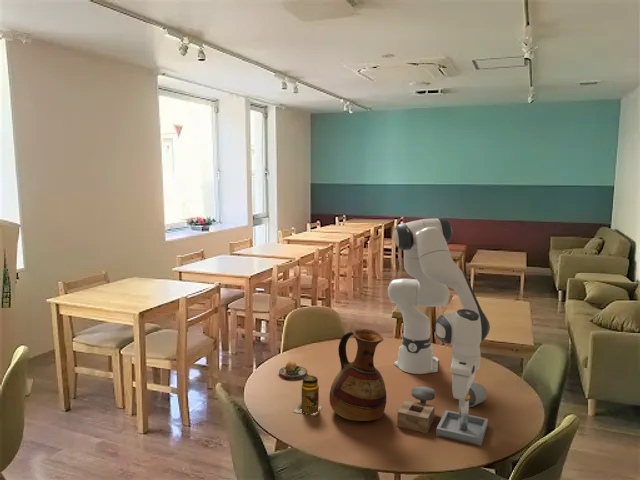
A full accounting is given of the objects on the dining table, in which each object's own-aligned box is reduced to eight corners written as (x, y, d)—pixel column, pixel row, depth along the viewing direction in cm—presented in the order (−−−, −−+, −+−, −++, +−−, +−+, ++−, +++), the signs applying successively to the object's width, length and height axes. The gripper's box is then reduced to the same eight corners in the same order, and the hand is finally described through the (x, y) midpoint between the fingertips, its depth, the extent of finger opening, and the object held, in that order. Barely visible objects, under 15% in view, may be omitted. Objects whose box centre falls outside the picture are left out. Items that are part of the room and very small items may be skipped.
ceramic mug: (488, 403, 183) (488, 384, 182) (475, 410, 178) (476, 390, 177) (464, 394, 190) (464, 376, 190) (451, 400, 185) (452, 381, 185)
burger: (312, 376, 206) (312, 359, 206) (288, 383, 200) (288, 365, 199) (297, 367, 216) (297, 350, 215) (273, 373, 210) (273, 356, 209)
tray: (445, 416, 173) (445, 410, 172) (487, 425, 167) (488, 418, 166) (436, 435, 160) (436, 428, 160) (481, 446, 154) (481, 438, 154)
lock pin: (458, 424, 166) (459, 391, 164) (469, 427, 164) (471, 394, 163) (456, 429, 163) (457, 396, 161) (467, 432, 161) (469, 398, 159)
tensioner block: (412, 404, 182) (412, 384, 181) (439, 409, 177) (440, 389, 176) (397, 426, 166) (397, 404, 165) (426, 433, 161) (427, 411, 160)
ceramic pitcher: (371, 434, 161) (373, 344, 157) (318, 417, 171) (318, 333, 167) (395, 410, 177) (397, 328, 173) (345, 396, 188) (347, 319, 184)
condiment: (315, 416, 172) (316, 383, 171) (293, 412, 175) (293, 379, 173) (322, 406, 179) (322, 375, 178) (300, 403, 182) (300, 372, 180)
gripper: (461, 348, 171) (459, 387, 173) (449, 369, 153) (447, 412, 154) (480, 351, 168) (478, 390, 170) (470, 373, 150) (468, 416, 152)
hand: (463, 401), depth 162 cm, fingers open, 4 cm apart
